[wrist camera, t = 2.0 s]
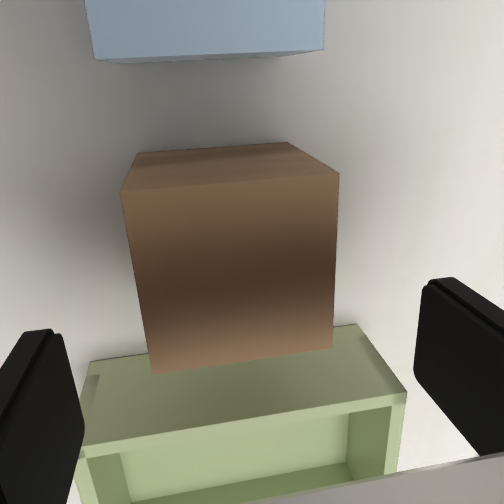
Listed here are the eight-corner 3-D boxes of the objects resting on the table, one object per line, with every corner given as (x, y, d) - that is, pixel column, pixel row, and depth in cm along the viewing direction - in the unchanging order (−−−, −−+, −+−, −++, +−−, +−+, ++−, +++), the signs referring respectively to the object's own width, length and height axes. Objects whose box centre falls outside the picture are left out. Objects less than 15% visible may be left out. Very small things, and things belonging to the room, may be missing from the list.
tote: (90, 361, 19) (64, 449, 15) (357, 324, 21) (407, 391, 17) (123, 494, 23) (111, 597, 18) (348, 452, 25) (387, 536, 20)
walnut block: (137, 152, 16) (119, 191, 11) (286, 141, 17) (339, 172, 12) (158, 287, 19) (152, 374, 13) (288, 271, 19) (332, 348, 14)
